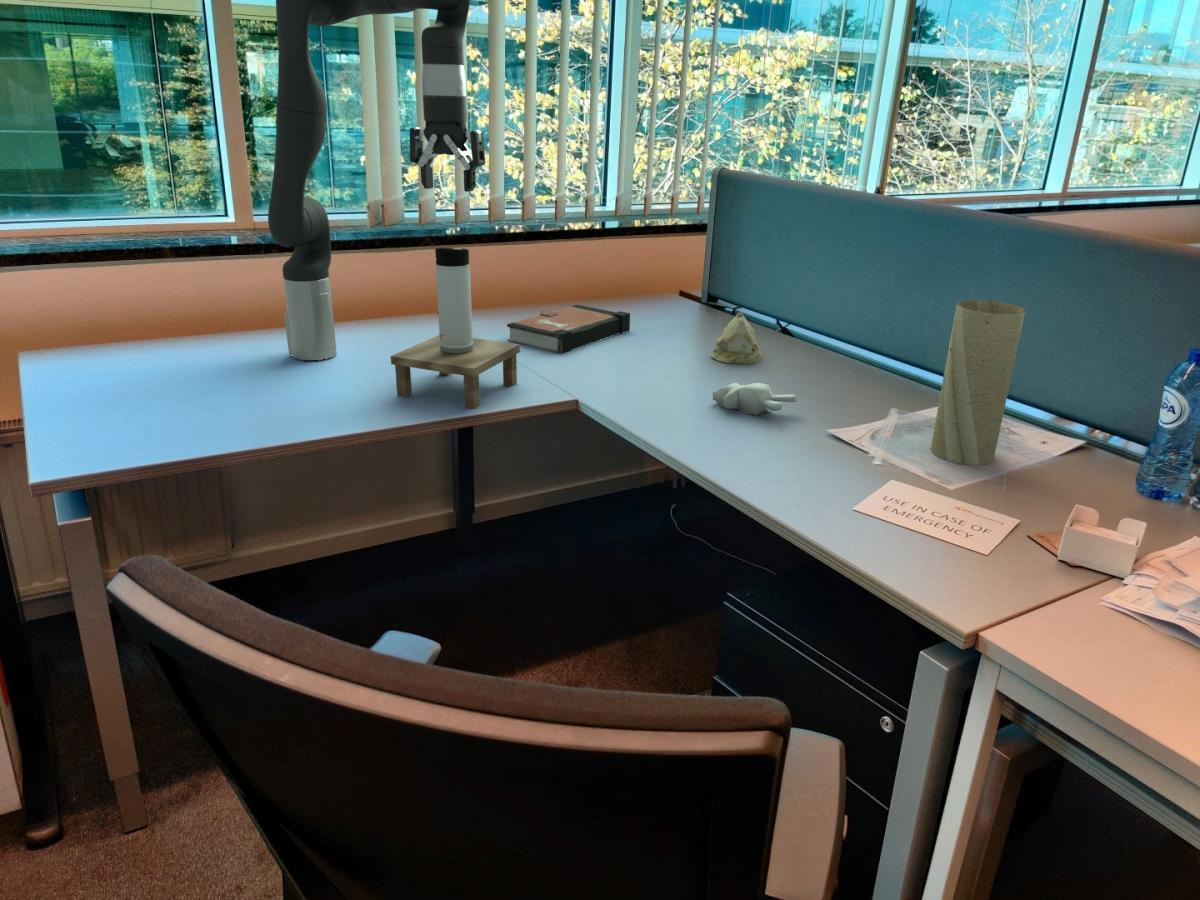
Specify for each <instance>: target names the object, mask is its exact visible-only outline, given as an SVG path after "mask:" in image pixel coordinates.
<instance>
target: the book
mask: <svg viewBox="0 0 1200 900" xmlns="http://www.w3.org/2000/svg"><path fill="white" fill-rule="evenodd" d="M506 327H507V328H509V339H507V341H508V342H510V343H512V342H513V343H514V344H520V345H523V346H528V347H533V348H536V347H537V348H536V349H540V348H541V350H544V349H545V351H548V350H549V352H552V351H553V353H557V354H561V353H562V355H563V354H565V353H568V352H572V350H575V349H578V348H580V346H581V347H584V346H586V344H587V345H589V343H590V344H592V343H591V342H593V343H595V341H596V342H598V341H597V340H599V341H601V340H600V339H602V340H604V339H603V338H605V339H607V338H606V337H608V338H610V337H609V336H611V337H613V336H612V335H614V336H616V335H615V334H617V333H620V332H621V333H623V332H626V331H629V330H630V331H631V313H630V312H626V311H620V310H619V311H617V312H616V311H612V310H611V311H610V310H605V309H601V308H597V307H593V306H586V305H582V304H574V305H572V306H566V307H563V308H560V309H555V310H553V311H552V310H543V311H540V312H539V314H538V315H534V316H531V317H527V318H524V319H520V320H517V321H512V322H509V323H506ZM630 331H629V332H630ZM626 333H627V332H626ZM623 334H624V333H623ZM617 335H618V334H617ZM583 345H584V346H583ZM577 347H578V348H577ZM574 348H575V349H574ZM571 349H572V350H571Z"/></svg>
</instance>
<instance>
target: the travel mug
mask: <svg viewBox="0 0 1200 900" xmlns="http://www.w3.org/2000/svg"><path fill="white" fill-rule="evenodd" d="M434 252H435V253H434V254H435V273H436V274H435V275H436V276H435V277H436V294H437V311H438V330H439V331H438V332H439V333H438V335H440V349H441V351H442V352H444V353H449V354H462V353H467V352H470V351H471V350H472V349H473V342H472V340H473V338H474V337H473V318H472V317H473V315H472V291H471V290H472V289H471V286H472V285H471V268H470V253H469V252H470V250H469V248H459V249H458V248H457V249H456V248H453V247H435V249H434Z"/></svg>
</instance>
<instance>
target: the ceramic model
mask: <svg viewBox="0 0 1200 900" xmlns="http://www.w3.org/2000/svg"><path fill="white" fill-rule="evenodd" d="M755 335H756V332H755V330H754V328H753V327H752V325H751V324H750V323H749V321H748V319H747V318H745V316H744V313H743V312H742V311H741V312H740V311H739V312H737V314H736V315H735V317H733V318H732V319H731V320H730V321H729V323H728V324H727V325H726V326H725V327H724V328H723V332H722V334H721V335H720V336H719V337H718V338H716V340H715V343H714V344H715V346H716V348H714V350H712V354H711V358H712V359H714V360H717V361H718V362H722V363H726V364H754V363H755V364H756V363H757V362H759V361H761V360H762V357H763V356H762V353H761V350H760V348H759V345H758V344H757V342H756V336H755Z"/></svg>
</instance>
